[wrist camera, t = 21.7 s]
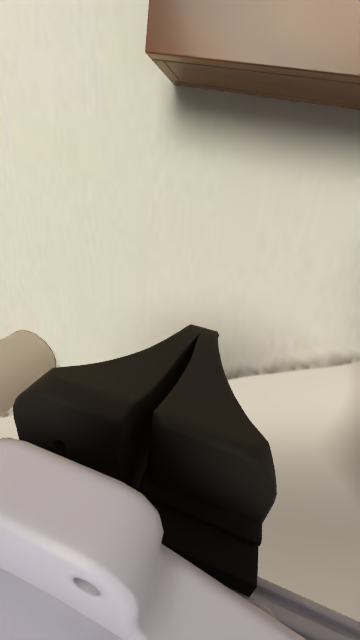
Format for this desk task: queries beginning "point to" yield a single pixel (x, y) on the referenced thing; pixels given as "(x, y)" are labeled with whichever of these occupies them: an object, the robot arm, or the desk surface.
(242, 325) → the desk surface
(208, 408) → the robot arm
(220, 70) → the chest
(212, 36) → the lid
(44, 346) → the bottle
